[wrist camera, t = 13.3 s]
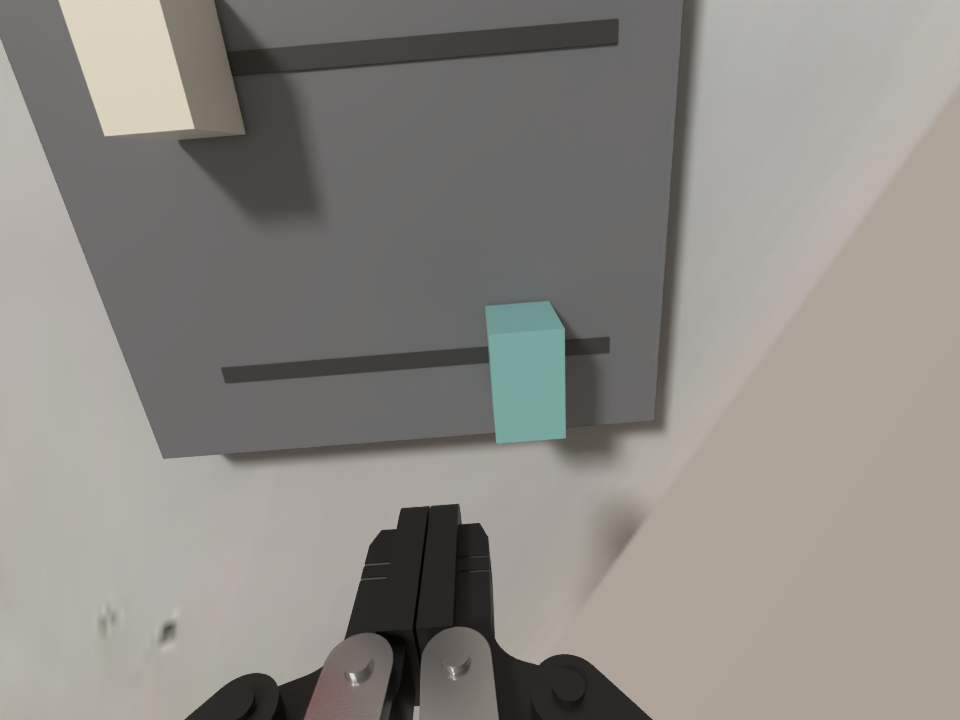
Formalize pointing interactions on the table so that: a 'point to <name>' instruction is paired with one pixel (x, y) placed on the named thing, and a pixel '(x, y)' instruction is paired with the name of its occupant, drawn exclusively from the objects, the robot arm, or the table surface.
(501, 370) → the fader teal
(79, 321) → the table surface
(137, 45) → the block
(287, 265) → the console
